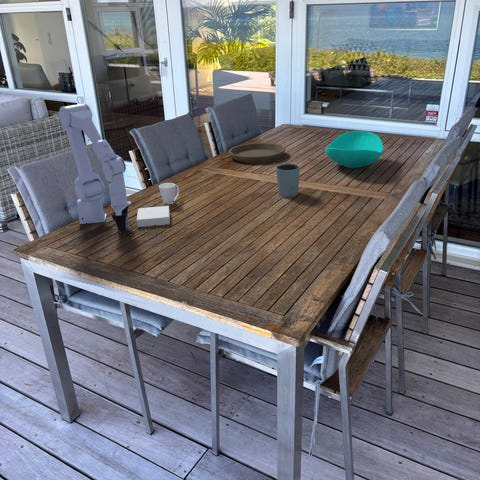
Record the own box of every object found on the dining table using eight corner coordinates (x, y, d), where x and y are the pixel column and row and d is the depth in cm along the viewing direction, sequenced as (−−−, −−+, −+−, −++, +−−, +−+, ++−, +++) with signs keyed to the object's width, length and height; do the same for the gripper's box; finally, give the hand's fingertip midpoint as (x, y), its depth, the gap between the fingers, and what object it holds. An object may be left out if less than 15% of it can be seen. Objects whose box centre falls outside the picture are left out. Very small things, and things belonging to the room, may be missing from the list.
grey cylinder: (117, 233, 175) (114, 218, 172) (118, 228, 179) (115, 214, 176) (129, 232, 175) (127, 217, 173) (130, 227, 179) (128, 212, 177)
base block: (137, 227, 179) (136, 219, 178) (139, 215, 190) (138, 208, 189) (169, 224, 181) (169, 216, 179) (169, 212, 191) (168, 205, 190)
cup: (157, 204, 201) (155, 186, 197) (173, 197, 208) (171, 179, 204) (169, 207, 197) (167, 188, 193) (185, 200, 204) (183, 182, 201)
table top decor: (376, 180, 217) (378, 151, 212) (316, 175, 227) (317, 148, 221) (386, 157, 250) (388, 132, 245) (333, 154, 260) (334, 129, 254)
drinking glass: (298, 197, 201) (298, 170, 196) (274, 197, 203) (274, 169, 198) (300, 190, 210) (300, 163, 205) (277, 189, 212) (277, 163, 207)
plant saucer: (220, 155, 270) (220, 147, 268) (268, 147, 281) (268, 139, 279) (244, 168, 244) (243, 159, 242) (296, 159, 255) (296, 150, 254)
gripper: (127, 197, 164) (133, 233, 170) (130, 184, 177) (135, 218, 183) (106, 199, 164) (113, 235, 169) (111, 186, 177) (116, 220, 182)
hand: (123, 226), depth 176 cm, fingers open, 7 cm apart
